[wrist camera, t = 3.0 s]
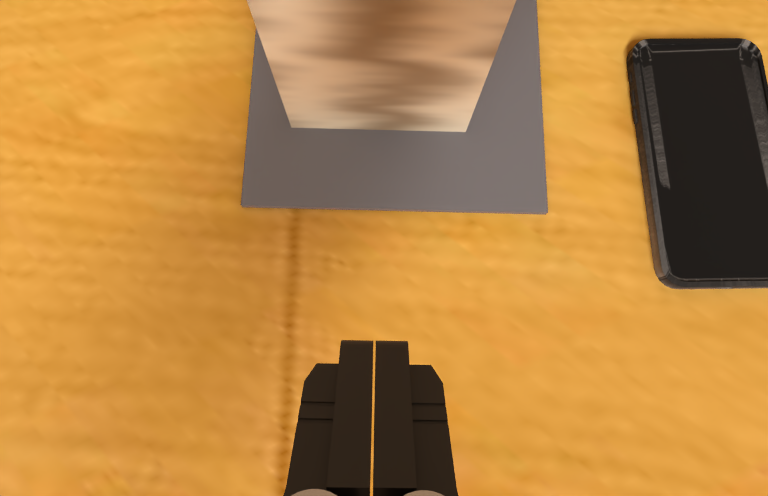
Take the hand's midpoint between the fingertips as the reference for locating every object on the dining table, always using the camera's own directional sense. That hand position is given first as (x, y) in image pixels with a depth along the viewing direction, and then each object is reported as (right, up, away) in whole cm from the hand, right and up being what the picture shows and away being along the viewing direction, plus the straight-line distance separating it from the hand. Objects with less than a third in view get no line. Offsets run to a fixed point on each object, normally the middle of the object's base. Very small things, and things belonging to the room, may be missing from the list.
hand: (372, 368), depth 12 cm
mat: (+1, +15, +19) cm, 25 cm away
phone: (+19, +8, +19) cm, 28 cm away
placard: (0, +10, +18) cm, 21 cm away
